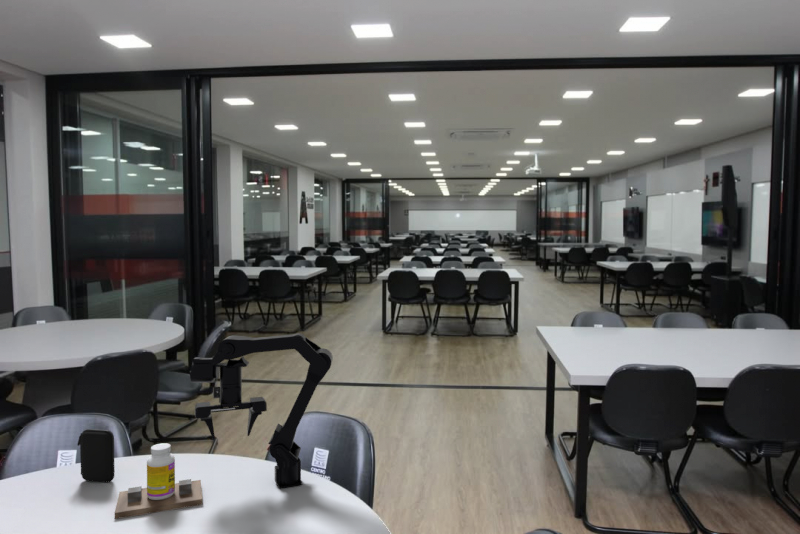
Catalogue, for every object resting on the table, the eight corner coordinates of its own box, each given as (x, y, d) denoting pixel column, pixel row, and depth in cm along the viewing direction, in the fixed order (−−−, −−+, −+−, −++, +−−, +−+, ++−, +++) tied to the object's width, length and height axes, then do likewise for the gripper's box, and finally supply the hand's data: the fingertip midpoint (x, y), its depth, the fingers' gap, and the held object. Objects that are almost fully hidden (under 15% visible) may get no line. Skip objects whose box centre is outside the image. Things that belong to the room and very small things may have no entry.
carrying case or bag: (74, 482, 151) (73, 430, 151) (82, 478, 154) (81, 426, 154) (110, 485, 150) (109, 432, 149) (117, 480, 153) (116, 428, 152)
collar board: (200, 485, 150) (200, 471, 150) (202, 504, 139) (202, 489, 139) (119, 497, 143) (119, 482, 142) (114, 519, 132) (114, 502, 131)
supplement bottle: (171, 500, 138) (171, 450, 138) (143, 502, 137) (143, 452, 136) (177, 488, 145) (177, 441, 144) (151, 490, 144) (150, 442, 143)
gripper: (261, 372, 161) (261, 424, 162) (194, 378, 154) (194, 432, 155) (266, 381, 151) (266, 437, 151) (195, 388, 144) (195, 446, 144)
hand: (231, 437), depth 151 cm, fingers open, 9 cm apart
